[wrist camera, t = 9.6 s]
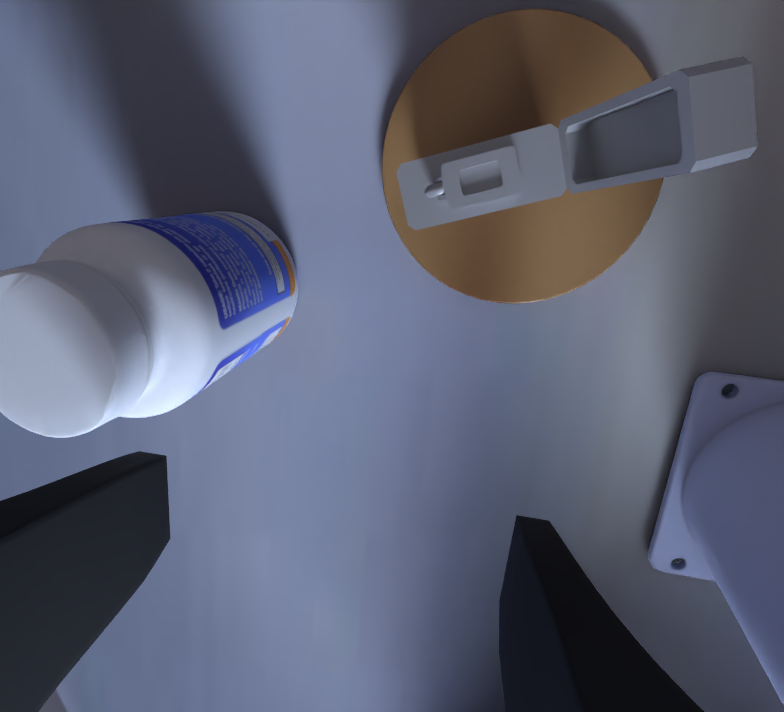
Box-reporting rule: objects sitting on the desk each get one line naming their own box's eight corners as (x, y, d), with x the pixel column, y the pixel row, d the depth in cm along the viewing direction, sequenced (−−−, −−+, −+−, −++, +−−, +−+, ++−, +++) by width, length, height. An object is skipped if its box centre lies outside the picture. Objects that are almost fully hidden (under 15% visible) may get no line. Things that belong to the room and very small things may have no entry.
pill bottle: (179, 195, 20) (-83, 202, 11) (313, 229, 20) (150, 265, 11) (169, 329, 22) (-65, 428, 13) (291, 364, 22) (135, 494, 12)
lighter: (429, 222, 18) (379, 245, 11) (419, 170, 18) (358, 157, 11) (651, 169, 17) (772, 153, 9) (645, 110, 16) (767, 44, 9)
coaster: (697, 17, 16) (701, 12, 15) (629, 316, 18) (632, 318, 18) (395, 7, 17) (392, 3, 17) (375, 286, 20) (372, 287, 20)
